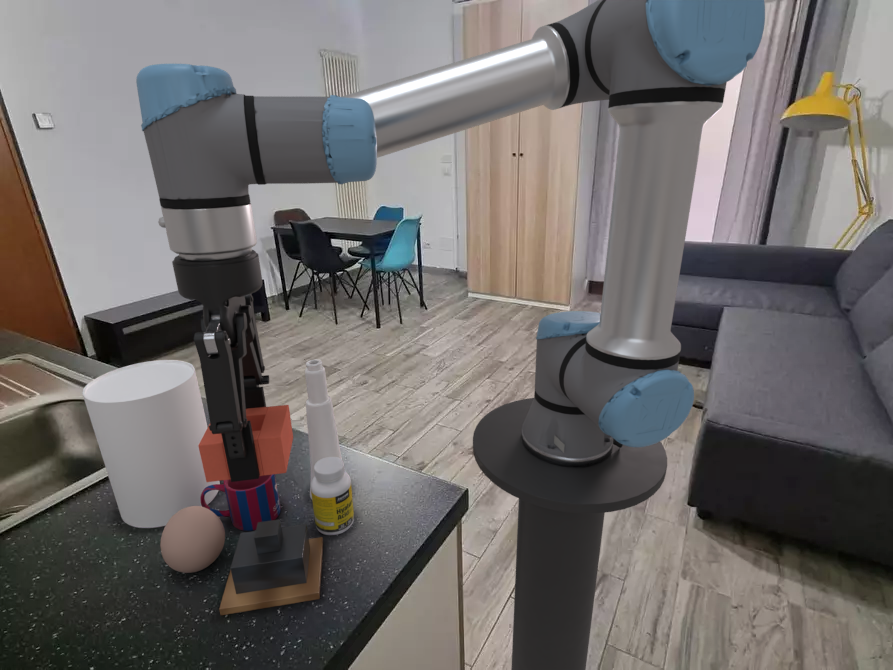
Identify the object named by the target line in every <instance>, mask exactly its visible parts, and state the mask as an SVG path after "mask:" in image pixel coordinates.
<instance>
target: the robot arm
mask: <svg viewBox="0 0 893 670" xmlns="http://www.w3.org/2000/svg"><path fill="white" fill-rule="evenodd" d="M765 24H766V3H765V0H596V1H594V2H592V3H590V4H589V5H587V6H586V7H584V8H582V9H580V10H578V11H577V12H575V13H573V14H570V15H568V16H567V17H564V18H563V19H560V20H558V21H555V22H552V23H549V24H545V25H542V26H539V27H538V28H537V29H536V30H535V31H534V33H533V35H532V37H531V39H528V40H524V41H521V42H518V43H515V44H511V45H508V46H504V47H501V48H497V49H495V50H492V51H491V50H490V51H487V52H485V53H481V54H477V55H474V56H472V57H468V58H465V59H462V60H458V61H455V62H452V63H449V64H448V63H447V64H445V65H441V66H439V67H435V68H431V69H428V70H425V71H422V72H419V73H415V74H412V75H409V76H405V77H402V78H399V79H395V80H392V81H389V82H386V83H382V84H379V85H375V86H372V87H369V88H365V89H363V90H358V91H355V92H352V93H349V94H345V95H341V96H339V95H336V94H330V95H329V96H254V95H246V94H244V93H237V89H236V88H235V86H234V83H233V79H232V77H231V75H230V73H228V72H227V70H226V71H225V70H224V69H221V68H218V67H215V66H209V65H197V64H196V65H195V64H190V63H189V64H188V63H157V64H151V65H147V66H145V67H143V68H141V69H140V70H139V72H138V73H137V75H136V78H135V79H136V82H135V83H136V89H137V96H138V104H139V108H140V109H139V110H140V115H141V120H142V123H141V125H140V127H141V131H142V132H143V135H144V139H145V143H146V147H147V152H148V155H149V159H150V163H151V168H152V173H153V177H154V181H155V185H156V190H157V193H158V198H159V205H160V207H161V208H160V209H161V214H162V216H161V217H159V218H158V221H157V223H158V225H159V227H161V228H163V229H165V230H166V237H167V241H168V245H169V250H170V251H171V252H173V253H175V254H177V255H176V256H175V257H174V258H173V260H172V261H171V264H172V268H173V272H174V277H175V282H176V287H177V292H178V293H179V295H180V296H181V297H182V298H185V299H187V300H190V301H194V300H195V301H197V302H199V303H200V304H201V305H202V315H201V316H200V329H201V331H200V332H195V333H194V335H193V342H194V345H195V347H196V352H197V355H198V358H199V362H200V363H199V364H200V368H201V369H200V370H201V375H202V383H203V388H204V395H205V400H206V405H207V413H208V416H209V417H208V418H209V419H208V420H209V424H210V426H209V425H208V426H209V429H210V431H212V434H222V439H223V444H224V449H225V454H226V459H227V464H228V469H229V474H230V479H231V482H236V481H244V480H252V479H259V476H260V473H259V467H258V461H257V456H256V450H255V444H254V438H253V433H252V427H251V421H247V418H246V409H248V408H259V407H267V403H266V397H265V390H264V386H263V385H269V384H270V375H269V374H267V375H263V374H264V373H265V370H266V367H265V363H264V359H263V353H262V349H261V348H262V347H261V343H260V338H259V337H260V336H259V332H258V327H257V322H256V317H255V310H254V309H255V308H254V296H253V295H252V294H254V293H256V292H258V291H259V290H260V289H261V288H262V286H263V276H262V270H261V264H260V263H261V262H260V256H259V253H258V252H257V251H256V250H255V249H253V248H254V247H255V246H256V245H257V244H258V238H257V232H256V225H255V219H254V218H255V217H254V213H253V206H252V203H251V196H250V194H249V192H250V191H249V185H250V186H251V185H259V186H261V185H272V184H275V185H278V184H279V185H280V184H281V185H283V184H284V185H285V184H286V185H287V184H289V185H297V184H299V185H301V184H303V185H304V184H305V185H307V184H308V185H309V184H338V185H344V184H349V183H356V182H366V181H369V180H371V179H373V177H374V175H375V173H376V170H377V164H378V158H381V157H385V156H388V155H390V154H393V153H397V152H400V151H402V150H403V151H404V150H406V149H409V148H412V147H415V146H416V147H417V146H419V145H422V144H426V143H428V142H432V141H435V140H437V139H441V138H444V137H447V136H450V135H453V134H457V133H459V132H462V131H463V132H464V131H465V130H469V129H472V128H474V127H478V126H481V125H484V124H488V123H491V122H494V121H497V120H500V119H503V118H507V117H510V116H513V115H516V114H519V113H523V112H525V111H526V112H527V111H528V110H531V109H534V108H537V107H538V108H539V107H541V106H543V107H545V108H547V109H548V110H551V111H554V110H555V111H556V110H558V109H562V108H565V107H569V106H572V105H576V104H583V103H588V102H589V103H590V102H600V101H608V107H607V113H608V114H609V115H610V116H611V118H612V119H613V120H614V121H615V122H616V124H617V125H618V128H619V134H618V146H617V155H616V166H615V174H614V184H613V193H612V200H611V201H612V203H611V210H610V211H611V212H610V220H609V221H610V222H609V230H608V239H607V240H608V241H607V248H606V249H607V250H606V257H605V259H606V260H605V268H604V269H605V270H604V276H603V287H602V297H601V306H600V312H597V311H587V310H585V311H584V310H568V311H559V312H554V313H549V314H547V315H545V316H544V317H542V318H540V321H539V322H538V327H537V332H536V337H535V340H536V350H535V351H536V352H535V370H534V371H535V372H534V373H535V375H534V395H533V398H534V400H533V402H532V405H531V407H530V409H529V412H528V414H527V416H526V419H525V421H524V423H523V426H522V443H523V445H524V447H525V448H526V449H527V450H528V451H529V452H530V453H531V454H532V455H534V456H535V457H537V458H538V459H540V460H543V461H545V462H547V463H550V464H554V465H558V466H563V467H588V466H593V465H596V464H599V463H601V462H603V461H604V460H606V459H607V458H608V457H609V456H610V454H611V452H612V447H613V444H614V445H616V446H618V447H620V448H621V447H622V446H623V445H625V446H629V447H645V446H649V445H653V444H655V443H658V442H661V441H664V440H665V439H667V438H668V437H670V436H671V435H672V434H673V433H674V432H675V431H677V430H678V429H679V428H680V427H681V426H682V425H683V423H684V422H685V421H686V419H687V418H688V416H689V414H690V412H691V410H692V408H693V405H694V400H695V390H694V387H693V384H692V383H691V382H690V381H689V380H690V379H689V378H688V377H687V376H686V374H684V373H681V371H680V370H678V369H679V363H680V358H681V357H680V356H681V350H682V344H681V341H680V340H679V339H678V338H677V337H676V336H675V335H674V334H673V332H672V331H671V330H672V323H673V317H674V311H675V306H676V299H677V293H678V287H679V280H680V274H681V267H682V262H683V255H684V248H685V243H686V236H687V230H688V225H689V224H688V223H689V218H690V211H691V206H692V199H693V193H694V187H695V182H696V181H695V180H696V175H697V174H696V173H697V169H698V162H699V155H700V150H701V143H702V138H703V137H702V136H703V130H704V126H705V125H706V123H707V122H708V121H709V120H710V119H712V117H713V116H715V114H717V113H718V112H719V111H720V110H721V109H723V105H724V99H725V94H726V89H727V82H730V81H731V80H733V79H734V78H735V77H737V76H738V75H739V74H741V73H742V72H743V71H744V70H745V68H746V67H747V66H748V62H750V61H751V60H753V59H754V57H755V55H756V54H757V52H758V50H759V47H760V45H761V42H762V38H763V35H764V29H765ZM261 385H262V386H261Z"/></svg>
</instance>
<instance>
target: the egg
mask: <svg viewBox="0 0 893 670" xmlns="http://www.w3.org/2000/svg"><path fill="white" fill-rule="evenodd" d="M225 542H226V530H225V527H224V524H223V522H222V520H221V517H218V516H217V515H216V514H215V513H213V512H212V511H211V510H209V509H207V508H205V507H201V506H190V507H186V508H184V509H182V510H179V511H178V512H177V513H176V514H174V515H173V516H172V517H171V518H170V519H169V521H168V523H167V524H166V526H164V528H163V531H162V533H161V536H160V545H159V547H160V553H161V556H162V559H163V561H164V562H165V563H166V565H167V566H168V567H169V568H171V569H172V570H174V571H176V572H179V573H184V574H190V573H197V572H199V571H202V570H205V569H206V568H208V567H209V566H210V565H212V564H213V563H214V562H215V561H216V560H217V558H218V557H219V556H220V554H221V553H222V551H223V549H224V546H225Z"/></svg>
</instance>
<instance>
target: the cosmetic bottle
mask: <svg viewBox="0 0 893 670" xmlns="http://www.w3.org/2000/svg"><path fill="white" fill-rule="evenodd" d="M304 378H305V385H306V392H307V399H306V400H305V413H306V425H307V426H306V427H307V437H308V438H307V439H308V449H309V462H310V463H309V465H310V486H309V497H310V499H311V500H312V494H311V482H312V480H313V478H314V477H315V474H314V465H315V464H316V463H317V462H318V461H319V460H321V459H323V458H326V457H338V458H341V459H342V460H343V456H342V452H341V446H340V440H339V436H338V435H339V434H338V428H337V421H336V418H335V417H336V416H335V411H334V405H333V400H332V397H331V396H330V395H329V392H328V391H329V390H328V383H327V374H326V368H325V367H324V366H323V360H321V359H318V358H315V359H309V360H307V361H306V362H305V369H304Z"/></svg>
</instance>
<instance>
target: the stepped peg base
mask: <svg viewBox="0 0 893 670" xmlns="http://www.w3.org/2000/svg"><path fill="white" fill-rule="evenodd" d="M281 522H282V521H281V519H280V518H278V519H275V520H271V521H264V522H258V524H257V528H256V530H253V531H244V532H240V533H239V537H238V540H237V544H236V548H235V550H234V554H233V558H232V561H231V565H230V570H229V573H228V576H227V580H226V584H225V586H224V587H225V588H224V591H223V594H222V598H221V600H220V605H219V608H218V611H219V614H220V616H226V615H231V614H238V613H245V612H251V611H256V610H261V609H262V610H263V609H267V608H268V609H269V608H274V607H280V606H286V605H292V604H297V603H304V602H309V601H315V600H316V601H317V600H320V598H321V597H320V596H321V582H322V570H323V569H322V568H323V556H324V555H323V553H324V537H323V536H319V537H313V538H312V537H311V538H309V531H308V525H307V524H308V523H301V524H295V525H289V526H282V523H281Z"/></svg>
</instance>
